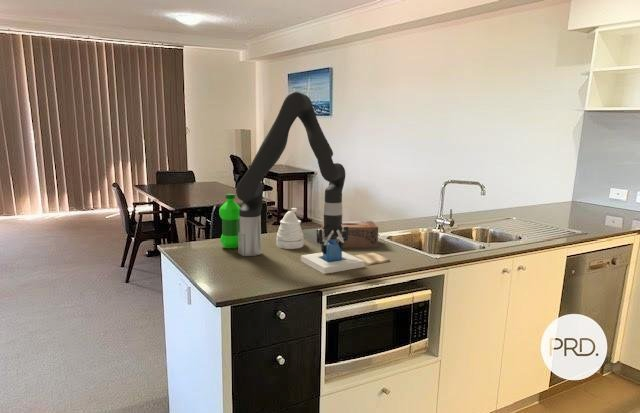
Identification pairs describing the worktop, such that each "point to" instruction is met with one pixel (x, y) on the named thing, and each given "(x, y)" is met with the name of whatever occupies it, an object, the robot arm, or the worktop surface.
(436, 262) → the worktop surface
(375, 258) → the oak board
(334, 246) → the perfume bottle
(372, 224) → the tissue box cover
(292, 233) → the honey pot
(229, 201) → the plastic bottle
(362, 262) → the socket block
